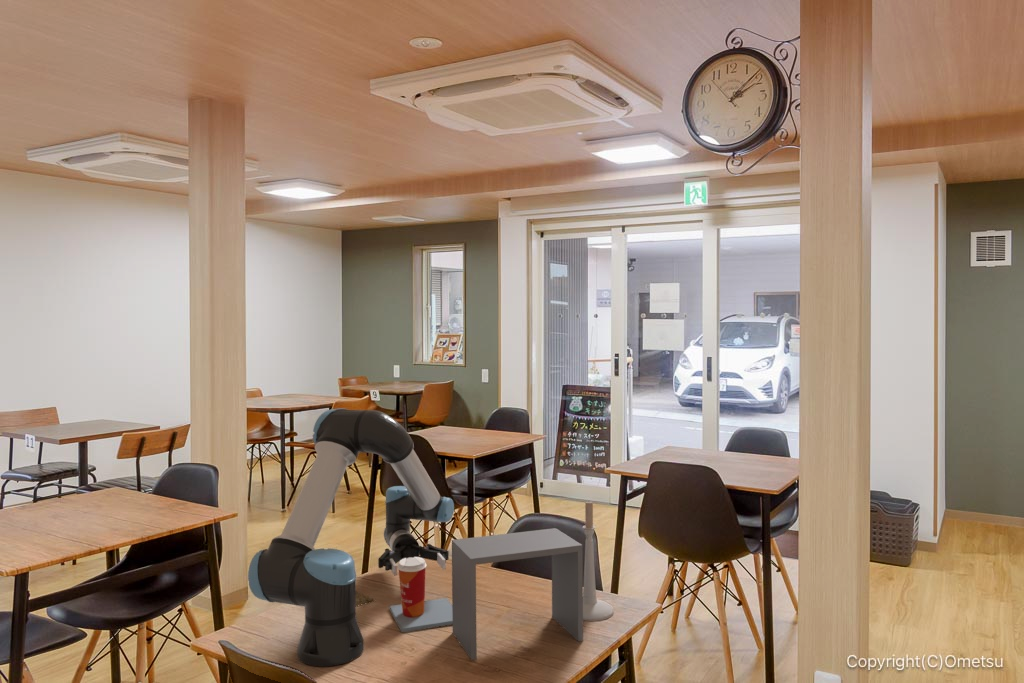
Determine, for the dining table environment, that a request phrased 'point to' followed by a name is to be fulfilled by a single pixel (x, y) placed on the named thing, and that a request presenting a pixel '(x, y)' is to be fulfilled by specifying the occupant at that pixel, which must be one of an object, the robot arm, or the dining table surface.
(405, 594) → the paper cup
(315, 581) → the robot arm
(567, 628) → the shelf riser
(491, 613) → the dining table surface
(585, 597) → the candlestick
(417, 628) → the mat
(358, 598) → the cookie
